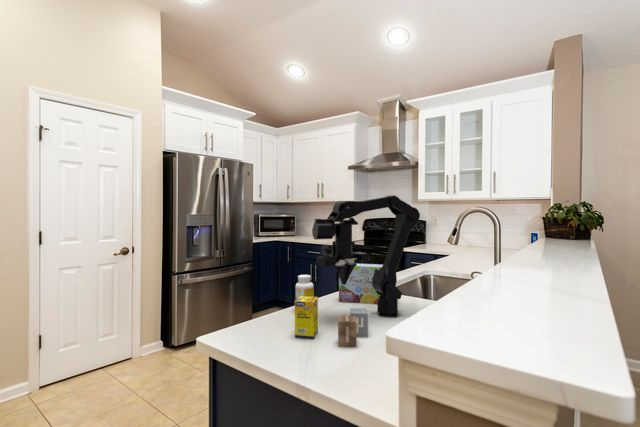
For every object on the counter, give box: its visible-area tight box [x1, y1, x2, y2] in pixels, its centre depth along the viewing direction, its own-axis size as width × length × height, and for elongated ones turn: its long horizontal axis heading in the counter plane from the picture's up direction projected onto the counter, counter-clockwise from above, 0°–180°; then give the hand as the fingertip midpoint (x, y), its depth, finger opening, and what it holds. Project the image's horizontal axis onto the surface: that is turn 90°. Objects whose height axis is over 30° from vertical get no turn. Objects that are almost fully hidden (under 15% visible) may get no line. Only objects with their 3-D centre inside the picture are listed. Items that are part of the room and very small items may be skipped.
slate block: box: [349, 307, 369, 338], centre depth 105 cm, size 5×5×7 cm
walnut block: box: [337, 315, 357, 348], centre depth 98 cm, size 5×5×7 cm
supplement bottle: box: [295, 274, 315, 301], centre depth 127 cm, size 7×7×13 cm
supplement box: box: [294, 296, 319, 340], centre depth 104 cm, size 6×6×11 cm
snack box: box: [338, 262, 383, 305], centre depth 138 cm, size 21×6×15 cm, turn 77°
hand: (343, 284), depth 117 cm, fingers closed
